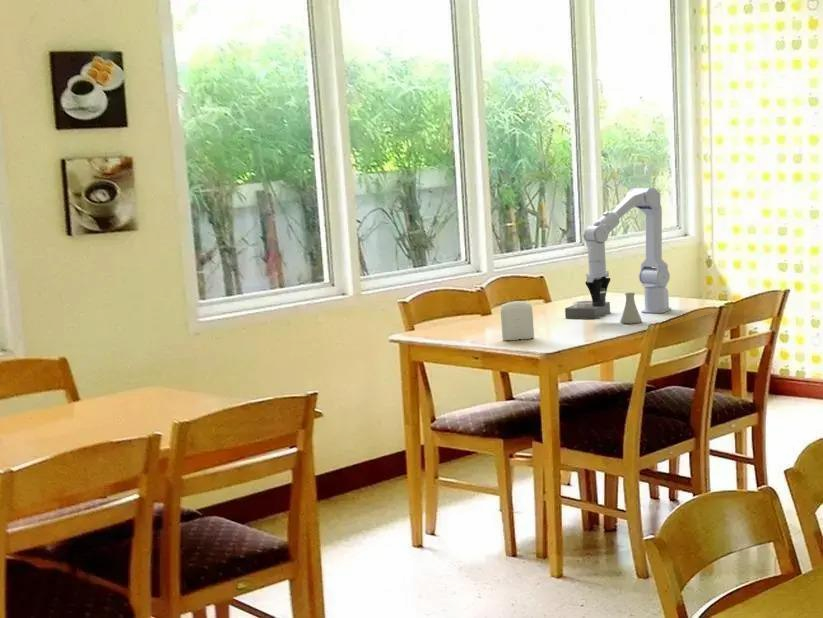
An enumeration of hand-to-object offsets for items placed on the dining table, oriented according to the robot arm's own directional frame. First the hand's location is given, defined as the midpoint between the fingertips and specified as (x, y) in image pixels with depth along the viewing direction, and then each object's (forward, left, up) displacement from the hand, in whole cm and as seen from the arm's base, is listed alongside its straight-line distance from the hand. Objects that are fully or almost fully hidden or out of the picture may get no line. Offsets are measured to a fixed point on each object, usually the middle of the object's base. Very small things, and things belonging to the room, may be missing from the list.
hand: (599, 300), depth 415 cm
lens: (0, 0, -2) cm, 2 cm away
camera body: (-13, -10, -7) cm, 18 cm away
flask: (-1, +11, -8) cm, 13 cm away
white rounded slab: (+36, -13, -8) cm, 39 cm away
